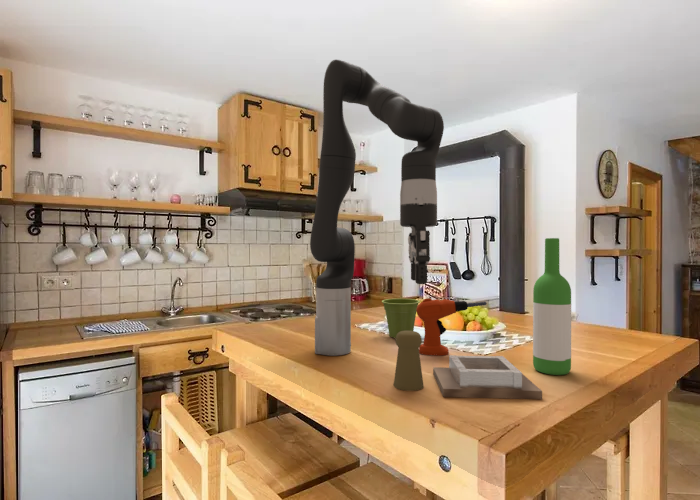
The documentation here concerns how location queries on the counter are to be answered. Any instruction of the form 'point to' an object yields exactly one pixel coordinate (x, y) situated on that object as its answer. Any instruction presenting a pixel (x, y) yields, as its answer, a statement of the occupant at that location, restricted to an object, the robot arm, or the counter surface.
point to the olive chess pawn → (408, 362)
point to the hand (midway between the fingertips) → (418, 282)
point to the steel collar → (485, 372)
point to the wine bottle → (552, 316)
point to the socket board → (452, 388)
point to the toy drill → (438, 322)
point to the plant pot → (400, 315)
